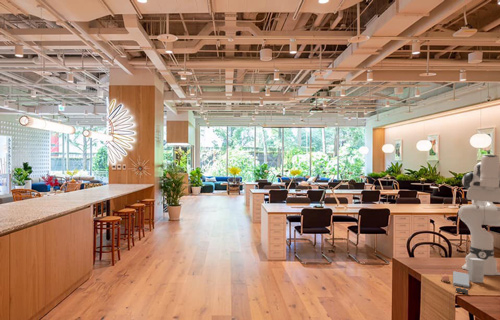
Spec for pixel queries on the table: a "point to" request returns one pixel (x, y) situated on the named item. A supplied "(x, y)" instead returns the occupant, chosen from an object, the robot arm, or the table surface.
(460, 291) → the rail
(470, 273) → the skincare box
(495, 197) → the robot arm
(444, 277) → the ball
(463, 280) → the ramp
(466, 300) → the table surface
